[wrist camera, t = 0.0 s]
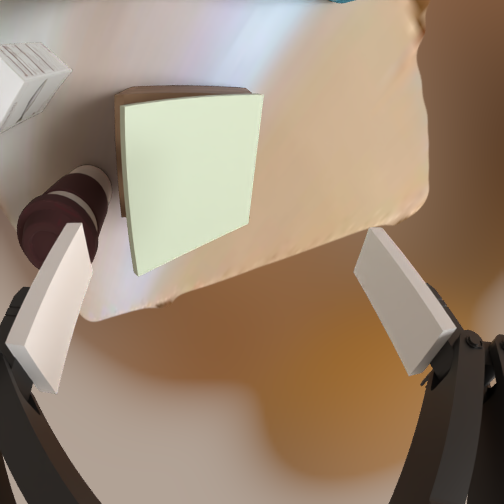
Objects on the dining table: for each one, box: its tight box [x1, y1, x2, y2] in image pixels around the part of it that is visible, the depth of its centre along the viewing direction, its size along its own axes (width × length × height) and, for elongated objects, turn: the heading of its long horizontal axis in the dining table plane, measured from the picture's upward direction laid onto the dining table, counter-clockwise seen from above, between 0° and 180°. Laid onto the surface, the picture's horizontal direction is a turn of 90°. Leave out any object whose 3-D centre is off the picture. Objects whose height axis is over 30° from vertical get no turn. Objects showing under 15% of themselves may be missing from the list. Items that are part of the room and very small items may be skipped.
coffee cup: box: [17, 165, 112, 270], centre depth 32 cm, size 10×10×15 cm
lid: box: [120, 94, 264, 277], centre depth 27 cm, size 15×14×1 cm
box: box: [114, 85, 252, 217], centre depth 34 cm, size 14×14×8 cm
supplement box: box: [0, 43, 72, 134], centre depth 23 cm, size 7×7×13 cm
